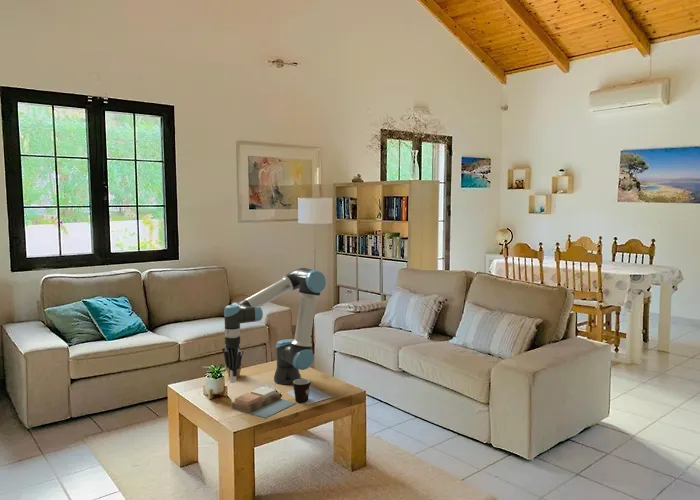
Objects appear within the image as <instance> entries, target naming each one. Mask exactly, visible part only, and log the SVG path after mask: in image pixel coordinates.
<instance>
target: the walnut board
mask: <svg viewBox="0 0 700 500" xmlns="http://www.w3.org/2000/svg"><path fill="white" fill-rule="evenodd" d="M279 399H281V393H279V392H276V394H273V395H271V396H269V397H267V398H265V399H262V398H261V400H260V401H258V402H256V403H254V404H251V405H249V406H246V405H243V404H239V403H236V402H235V400H234V401H232V402H231V409H234V410H237V411H240V412H243V413H247V414H250V413H252V412H254V411H256V410H258V409H260V408H262V407H264V406H266V405H269V404H271V403H273V402H275V401H277V400H279Z"/></svg>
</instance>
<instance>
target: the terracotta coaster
mask: <svg viewBox="0 0 700 500" xmlns="http://www.w3.org/2000/svg"><path fill="white" fill-rule="evenodd" d="M260 400H261V396H258V395H255V394H251V392H247V393H244V394H241V395H239V396H236V397H235V398H234V401H235V402H236V403H239V404H243V405H246V406H249V405H251V404H254V403H256V402H258V401H260Z"/></svg>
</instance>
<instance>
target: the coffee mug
mask: <svg viewBox="0 0 700 500" xmlns="http://www.w3.org/2000/svg"><path fill="white" fill-rule="evenodd" d="M310 386H311V381H310V379H308V378H301V379H297V380H294V381H293V392H294V393H293V394H294V398H295V399H294V400H295V403H296V404H297V403H298V404H305V403H307V402H308V401H309V396H310V395H309V394H310Z"/></svg>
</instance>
